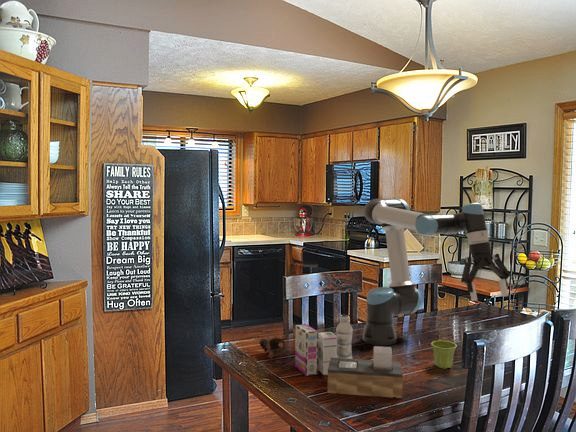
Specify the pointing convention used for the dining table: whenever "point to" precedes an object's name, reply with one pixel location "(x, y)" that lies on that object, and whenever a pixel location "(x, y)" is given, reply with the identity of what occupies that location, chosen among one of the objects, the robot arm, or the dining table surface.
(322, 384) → the dining table surface
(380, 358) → the peg
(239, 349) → the dining table surface
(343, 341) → the plastic bottle
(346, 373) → the socket block
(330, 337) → the syrup box
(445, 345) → the plant pot
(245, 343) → the dining table surface
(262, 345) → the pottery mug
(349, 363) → the seated peg
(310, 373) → the candy bar box
